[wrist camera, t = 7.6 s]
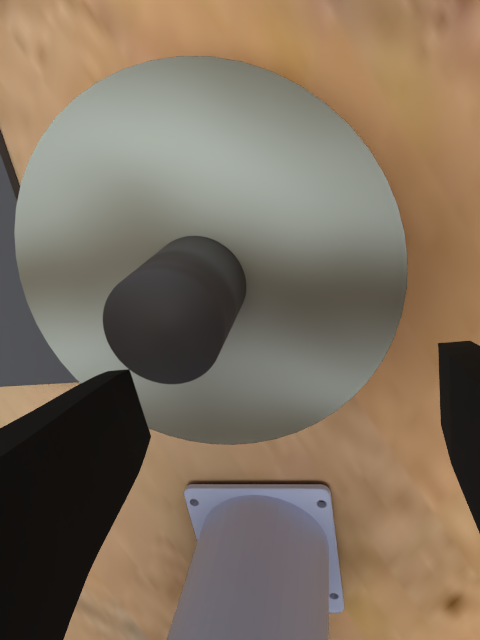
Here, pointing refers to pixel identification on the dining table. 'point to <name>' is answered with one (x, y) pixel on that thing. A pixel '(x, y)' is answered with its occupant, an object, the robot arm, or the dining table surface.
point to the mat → (19, 304)
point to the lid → (212, 247)
